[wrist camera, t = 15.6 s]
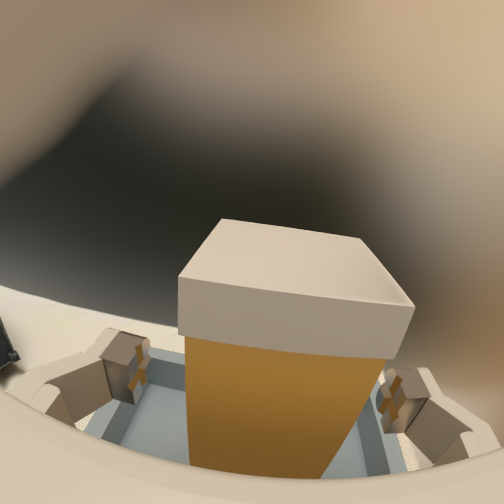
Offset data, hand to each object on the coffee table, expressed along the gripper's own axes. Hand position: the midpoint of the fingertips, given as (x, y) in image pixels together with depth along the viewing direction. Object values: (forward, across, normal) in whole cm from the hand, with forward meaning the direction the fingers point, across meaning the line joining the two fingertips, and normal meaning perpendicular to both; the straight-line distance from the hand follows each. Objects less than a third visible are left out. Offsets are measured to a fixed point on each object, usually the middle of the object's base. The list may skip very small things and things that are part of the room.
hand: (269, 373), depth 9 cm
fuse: (-1, 0, -8) cm, 9 cm away
